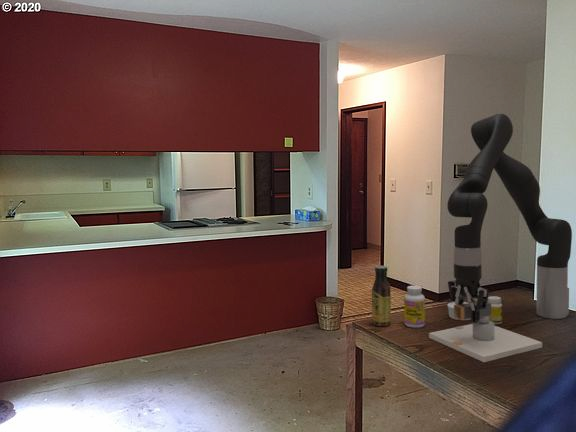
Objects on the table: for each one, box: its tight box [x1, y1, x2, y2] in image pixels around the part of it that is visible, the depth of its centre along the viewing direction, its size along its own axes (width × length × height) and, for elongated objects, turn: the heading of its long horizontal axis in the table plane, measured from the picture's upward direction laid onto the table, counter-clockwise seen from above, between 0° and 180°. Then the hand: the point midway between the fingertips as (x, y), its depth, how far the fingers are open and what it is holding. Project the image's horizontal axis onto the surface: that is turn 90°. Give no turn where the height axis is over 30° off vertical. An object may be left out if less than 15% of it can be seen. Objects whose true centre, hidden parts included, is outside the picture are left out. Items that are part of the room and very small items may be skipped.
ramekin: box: [447, 301, 471, 321], centre depth 171 cm, size 9×9×4 cm
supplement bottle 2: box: [487, 295, 503, 325], centre depth 163 cm, size 5×5×8 cm
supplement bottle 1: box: [403, 285, 426, 329], centre depth 164 cm, size 7×7×13 cm
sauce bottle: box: [371, 265, 392, 327], centre depth 165 cm, size 7×6×20 cm
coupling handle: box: [454, 301, 491, 323], centre depth 144 cm, size 10×3×6 cm, turn 107°
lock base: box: [428, 321, 543, 363], centre depth 146 cm, size 22×22×6 cm
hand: (467, 319), depth 143 cm, fingers open, 5 cm apart
